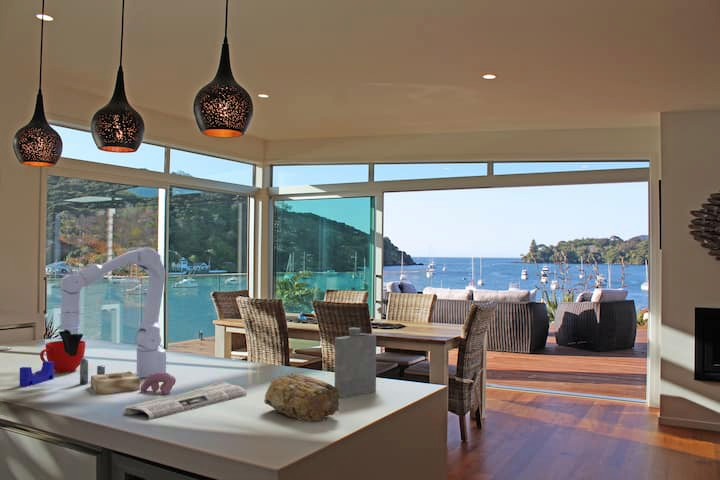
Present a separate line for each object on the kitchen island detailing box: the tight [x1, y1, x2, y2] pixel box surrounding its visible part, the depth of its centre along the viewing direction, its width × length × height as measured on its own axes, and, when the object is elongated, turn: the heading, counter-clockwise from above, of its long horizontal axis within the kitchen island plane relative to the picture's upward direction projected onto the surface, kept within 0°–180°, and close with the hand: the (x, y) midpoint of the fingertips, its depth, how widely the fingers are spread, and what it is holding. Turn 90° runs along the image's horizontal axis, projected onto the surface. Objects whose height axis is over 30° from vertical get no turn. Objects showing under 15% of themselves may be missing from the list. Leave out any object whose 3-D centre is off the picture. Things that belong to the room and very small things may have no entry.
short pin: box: [96, 365, 106, 375], centre depth 209 cm, size 2×2×4 cm
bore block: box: [90, 371, 141, 395], centre depth 197 cm, size 12×12×4 cm
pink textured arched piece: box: [139, 372, 176, 395], centre depth 192 cm, size 10×5×7 cm, turn 71°
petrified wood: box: [263, 372, 340, 422], centre depth 166 cm, size 19×13×10 cm
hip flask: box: [334, 327, 377, 400], centre depth 191 cm, size 16×4×20 cm, turn 133°
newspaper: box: [124, 379, 247, 420], centre depth 178 cm, size 35×12×4 cm, turn 144°
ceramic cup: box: [39, 340, 86, 373], centre depth 223 cm, size 13×17×10 cm
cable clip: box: [19, 360, 55, 387], centre depth 205 cm, size 12×4×6 cm, turn 169°
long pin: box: [79, 357, 89, 386], centre depth 203 cm, size 2×2×8 cm
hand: (70, 354), depth 202 cm, fingers open, 7 cm apart
